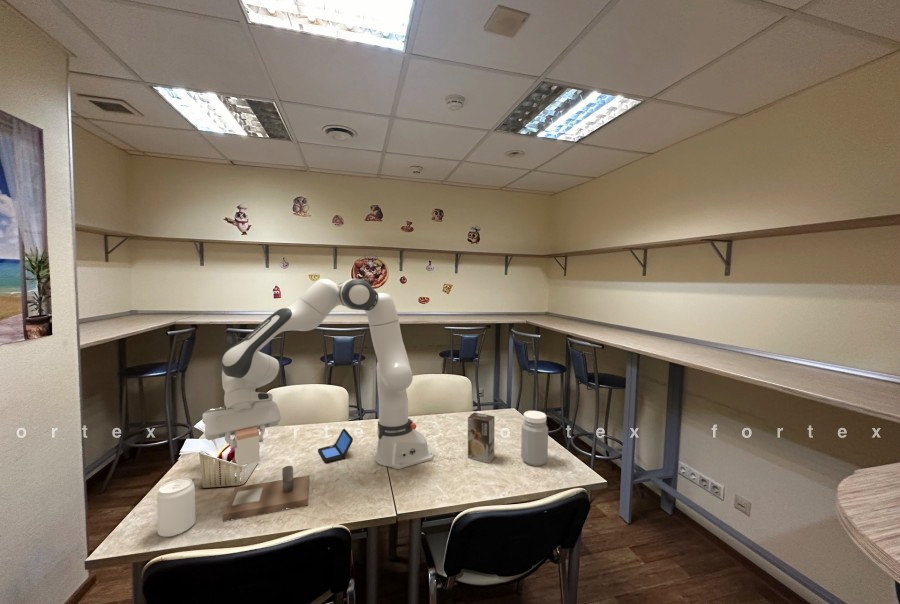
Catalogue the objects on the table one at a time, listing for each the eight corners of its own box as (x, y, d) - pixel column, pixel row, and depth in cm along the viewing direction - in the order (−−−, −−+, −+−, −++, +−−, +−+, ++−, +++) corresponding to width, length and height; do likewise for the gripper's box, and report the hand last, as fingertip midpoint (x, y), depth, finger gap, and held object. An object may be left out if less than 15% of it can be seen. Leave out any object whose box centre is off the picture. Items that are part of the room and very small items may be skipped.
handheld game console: (317, 451, 141) (317, 433, 140) (344, 445, 147) (344, 427, 146) (324, 465, 130) (324, 445, 130) (353, 457, 136) (353, 438, 136)
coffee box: (495, 456, 137) (495, 416, 136) (489, 463, 131) (489, 421, 131) (473, 451, 141) (474, 411, 141) (466, 458, 136) (467, 417, 135)
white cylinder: (151, 541, 91) (149, 496, 90) (167, 521, 99) (165, 479, 98) (187, 535, 93) (186, 491, 92) (200, 516, 101) (199, 475, 100)
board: (309, 480, 119) (309, 455, 119) (307, 505, 106) (307, 476, 106) (234, 493, 112) (234, 465, 111) (223, 521, 99) (222, 490, 98)
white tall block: (255, 453, 110) (255, 425, 110) (259, 460, 106) (259, 431, 105) (234, 459, 107) (234, 430, 106) (237, 466, 102) (237, 436, 102)
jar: (548, 468, 128) (549, 420, 127) (521, 465, 130) (521, 417, 129) (546, 455, 138) (547, 410, 137) (521, 453, 140) (521, 408, 139)
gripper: (202, 405, 104) (205, 450, 97) (277, 392, 117) (285, 431, 110) (201, 415, 108) (204, 459, 101) (274, 402, 121) (281, 440, 114)
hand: (247, 444), depth 106 cm, fingers closed on white tall block, 6 cm apart
